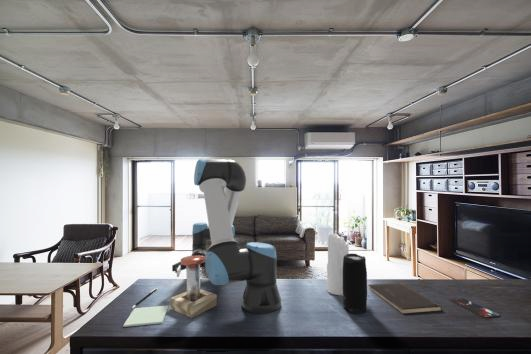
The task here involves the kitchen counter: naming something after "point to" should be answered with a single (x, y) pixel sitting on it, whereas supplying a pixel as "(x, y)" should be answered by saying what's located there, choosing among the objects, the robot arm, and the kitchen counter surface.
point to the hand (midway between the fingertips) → (195, 272)
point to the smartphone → (474, 308)
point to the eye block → (193, 303)
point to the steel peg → (193, 275)
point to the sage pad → (146, 316)
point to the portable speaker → (354, 283)
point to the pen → (145, 297)
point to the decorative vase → (335, 263)
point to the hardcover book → (404, 298)
